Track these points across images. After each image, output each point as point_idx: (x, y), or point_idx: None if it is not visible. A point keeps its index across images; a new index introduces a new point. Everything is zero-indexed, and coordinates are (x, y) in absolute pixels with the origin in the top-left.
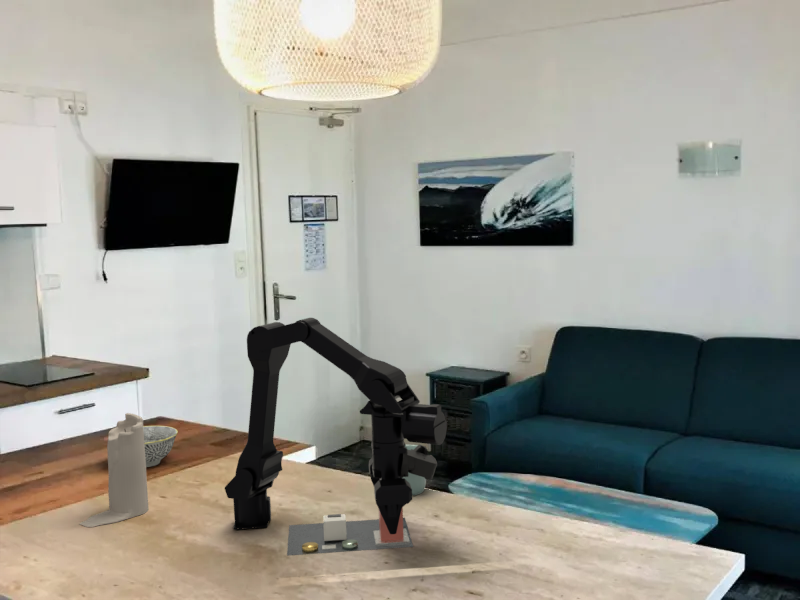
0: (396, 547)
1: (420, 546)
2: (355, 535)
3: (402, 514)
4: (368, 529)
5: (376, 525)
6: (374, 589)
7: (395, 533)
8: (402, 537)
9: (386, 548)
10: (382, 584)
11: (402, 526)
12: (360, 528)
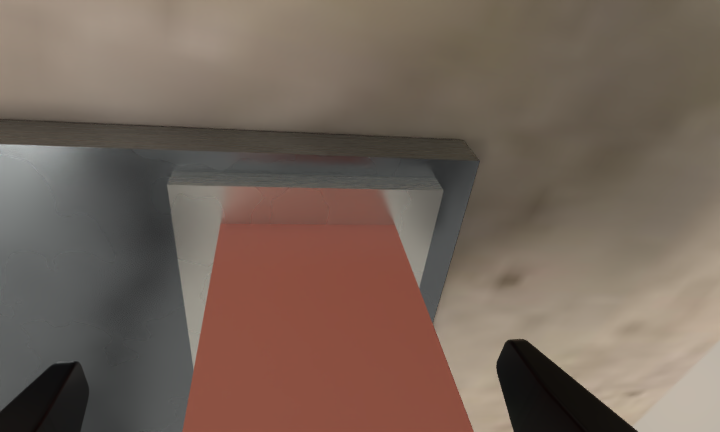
0: (450, 257)
1: (366, 70)
2: None
3: (460, 398)
4: (117, 375)
5: (36, 340)
6: (707, 325)
7: (525, 343)
8: (395, 239)
9: (437, 302)
10: (694, 302)
11: (422, 300)
12: (99, 407)
